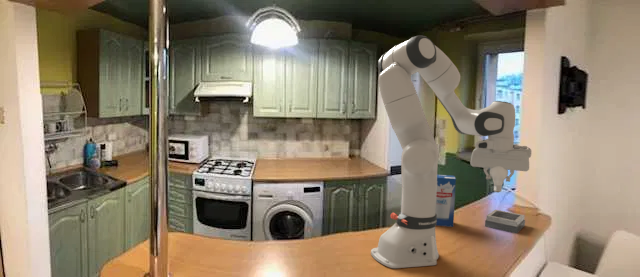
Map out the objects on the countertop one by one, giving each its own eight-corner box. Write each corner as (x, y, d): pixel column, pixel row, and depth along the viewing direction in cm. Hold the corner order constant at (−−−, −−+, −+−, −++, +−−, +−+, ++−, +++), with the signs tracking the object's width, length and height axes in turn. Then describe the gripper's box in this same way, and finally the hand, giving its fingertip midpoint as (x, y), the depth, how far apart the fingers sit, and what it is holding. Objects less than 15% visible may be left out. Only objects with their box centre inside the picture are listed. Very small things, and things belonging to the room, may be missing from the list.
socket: (517, 233, 146) (517, 222, 145) (484, 226, 154) (485, 215, 153) (524, 225, 155) (525, 215, 154) (494, 219, 163) (494, 209, 162)
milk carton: (452, 222, 159) (454, 175, 156) (453, 226, 153) (456, 178, 150) (427, 219, 161) (429, 174, 159) (428, 224, 155) (430, 177, 153)
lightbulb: (484, 191, 145) (486, 163, 144) (495, 189, 148) (497, 162, 147) (499, 195, 140) (501, 166, 138) (510, 193, 143) (512, 164, 141)
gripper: (531, 145, 140) (528, 181, 141) (472, 141, 149) (470, 175, 151) (532, 147, 134) (529, 185, 136) (471, 143, 144) (468, 178, 145)
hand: (497, 180), depth 143 cm, fingers closed on lightbulb, 5 cm apart
